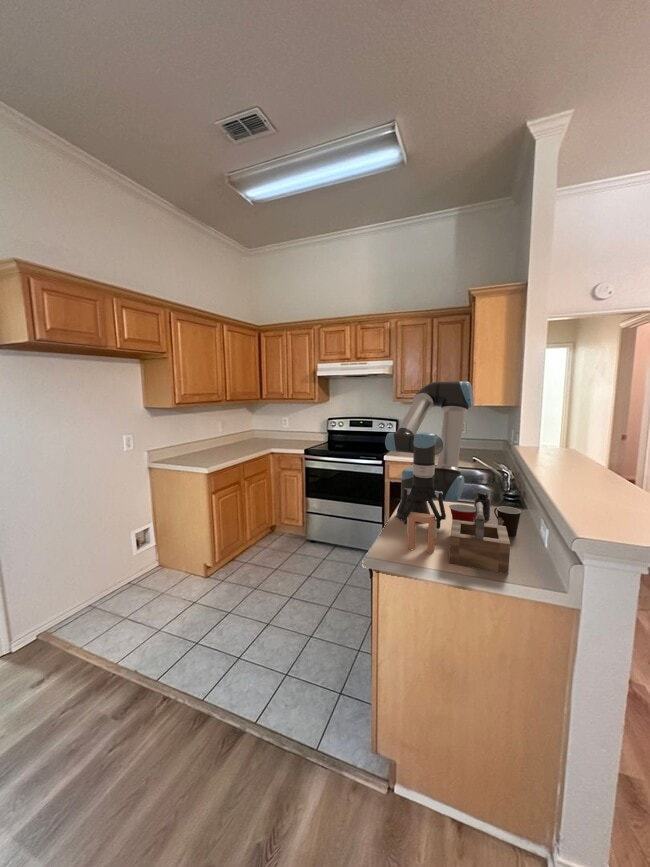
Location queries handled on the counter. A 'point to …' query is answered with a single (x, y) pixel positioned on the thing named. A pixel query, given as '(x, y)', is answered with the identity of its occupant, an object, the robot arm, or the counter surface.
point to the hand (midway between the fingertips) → (421, 534)
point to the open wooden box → (479, 544)
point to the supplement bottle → (483, 503)
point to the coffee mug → (508, 519)
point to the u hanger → (413, 519)
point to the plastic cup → (462, 512)
